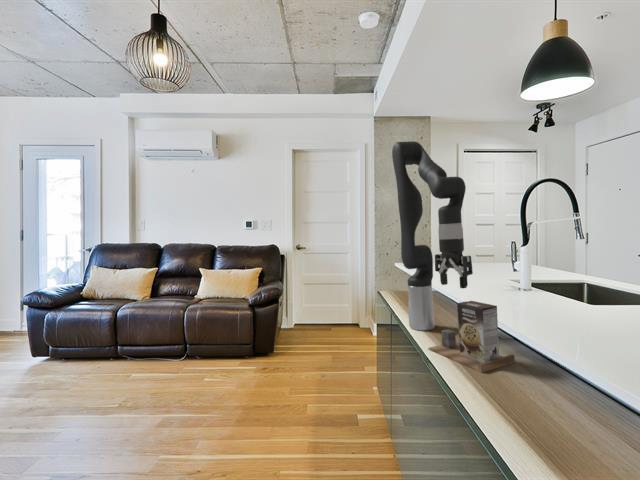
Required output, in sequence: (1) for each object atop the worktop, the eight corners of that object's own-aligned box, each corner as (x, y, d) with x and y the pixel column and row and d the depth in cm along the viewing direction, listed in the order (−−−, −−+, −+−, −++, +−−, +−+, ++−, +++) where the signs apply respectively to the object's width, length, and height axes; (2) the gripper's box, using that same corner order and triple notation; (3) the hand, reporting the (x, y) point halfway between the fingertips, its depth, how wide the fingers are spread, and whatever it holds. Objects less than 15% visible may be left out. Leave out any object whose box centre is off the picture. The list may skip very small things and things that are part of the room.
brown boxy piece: (459, 355, 99) (455, 302, 99) (474, 351, 102) (471, 299, 102) (485, 365, 91) (481, 308, 91) (501, 360, 94) (497, 304, 93)
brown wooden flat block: (428, 349, 108) (427, 332, 107) (458, 341, 112) (457, 326, 112) (481, 372, 88) (480, 352, 88) (515, 362, 93) (513, 343, 93)
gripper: (427, 238, 113) (430, 284, 114) (458, 238, 100) (461, 290, 100) (444, 236, 116) (447, 282, 116) (476, 236, 103) (479, 287, 103)
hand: (453, 286), depth 108 cm, fingers open, 8 cm apart
